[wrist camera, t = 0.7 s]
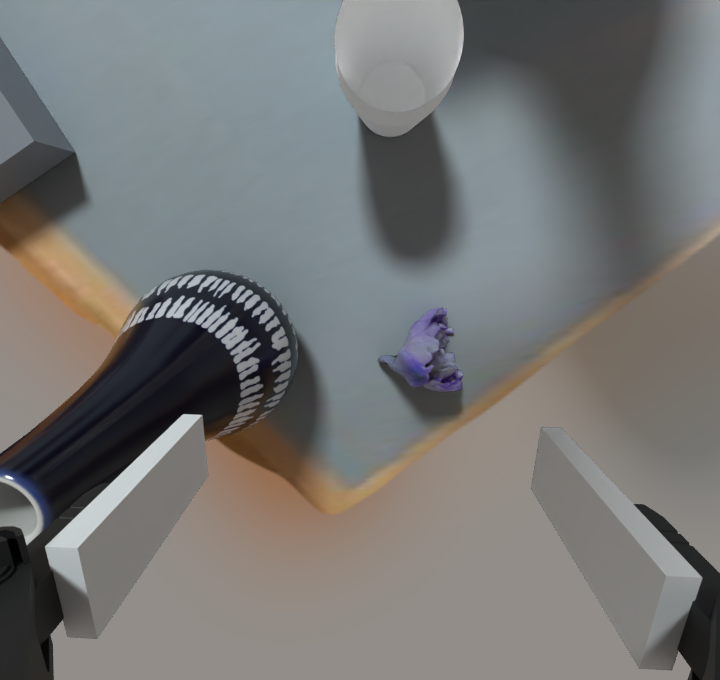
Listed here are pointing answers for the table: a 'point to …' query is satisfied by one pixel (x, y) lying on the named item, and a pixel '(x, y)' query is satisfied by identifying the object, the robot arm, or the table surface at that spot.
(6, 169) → the panel
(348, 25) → the cup
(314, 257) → the table surface
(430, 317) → the flower
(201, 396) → the vase
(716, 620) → the robot arm
